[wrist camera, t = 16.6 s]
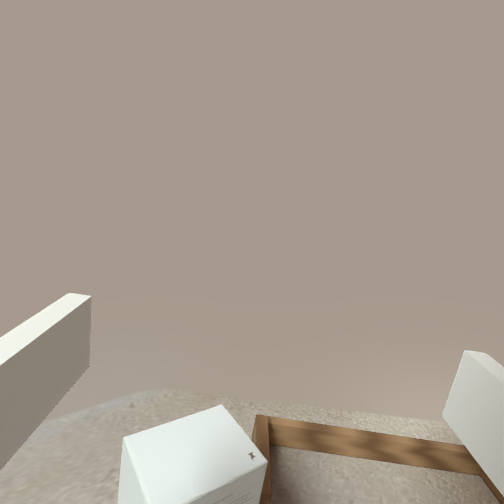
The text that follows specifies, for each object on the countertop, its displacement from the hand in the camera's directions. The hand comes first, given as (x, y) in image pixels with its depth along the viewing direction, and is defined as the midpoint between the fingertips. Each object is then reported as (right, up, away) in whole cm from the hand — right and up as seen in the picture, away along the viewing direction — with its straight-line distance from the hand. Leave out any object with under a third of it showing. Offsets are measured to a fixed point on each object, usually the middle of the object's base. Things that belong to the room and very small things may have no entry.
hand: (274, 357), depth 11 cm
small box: (-7, -22, +13) cm, 27 cm away
